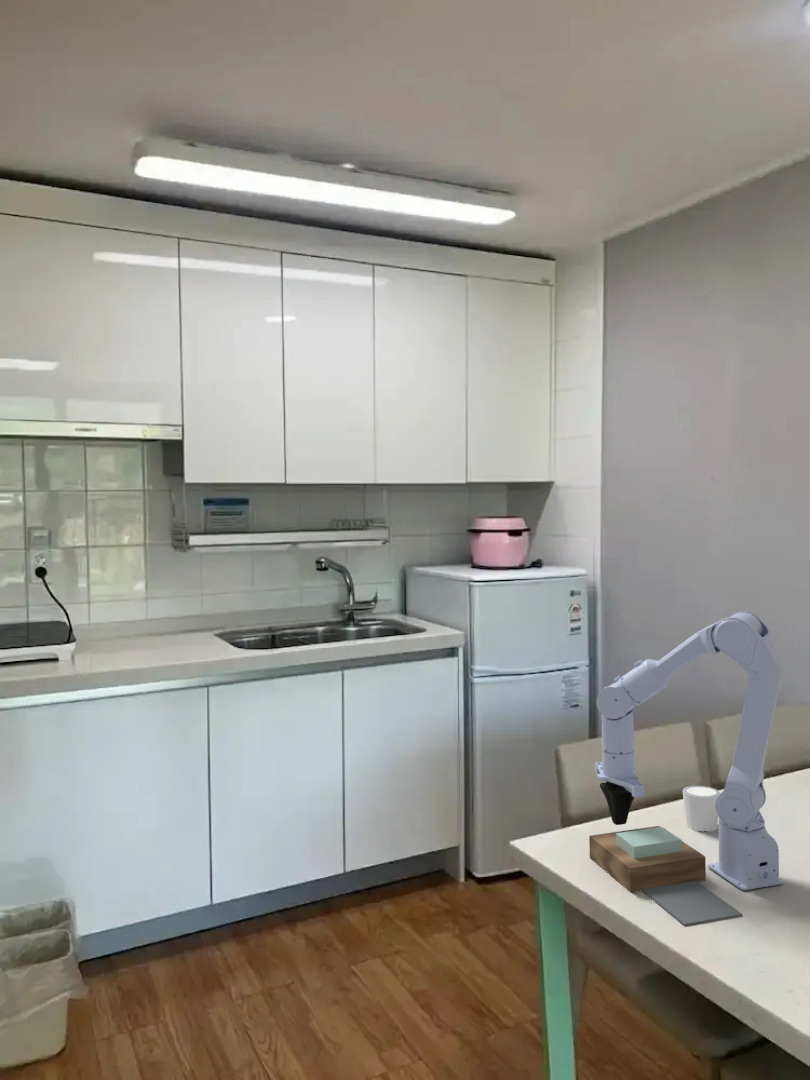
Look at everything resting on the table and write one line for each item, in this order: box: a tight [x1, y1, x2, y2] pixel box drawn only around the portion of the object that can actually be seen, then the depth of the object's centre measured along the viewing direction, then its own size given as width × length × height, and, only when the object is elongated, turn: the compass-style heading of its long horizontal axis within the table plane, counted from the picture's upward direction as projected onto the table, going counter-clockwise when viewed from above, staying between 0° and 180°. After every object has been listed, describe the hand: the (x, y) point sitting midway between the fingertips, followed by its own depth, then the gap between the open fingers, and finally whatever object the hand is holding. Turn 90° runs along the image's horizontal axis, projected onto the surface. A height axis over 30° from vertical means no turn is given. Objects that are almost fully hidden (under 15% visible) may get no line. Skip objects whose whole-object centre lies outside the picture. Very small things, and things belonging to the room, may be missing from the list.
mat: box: [641, 881, 743, 927], centre depth 131 cm, size 12×10×1 cm
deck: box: [588, 825, 707, 893], centre depth 143 cm, size 14×14×4 cm
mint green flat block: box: [616, 826, 683, 859], centre depth 142 cm, size 6×9×2 cm, turn 105°
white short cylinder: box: [682, 785, 721, 833], centre depth 161 cm, size 7×7×7 cm
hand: (619, 823), depth 152 cm, fingers closed
